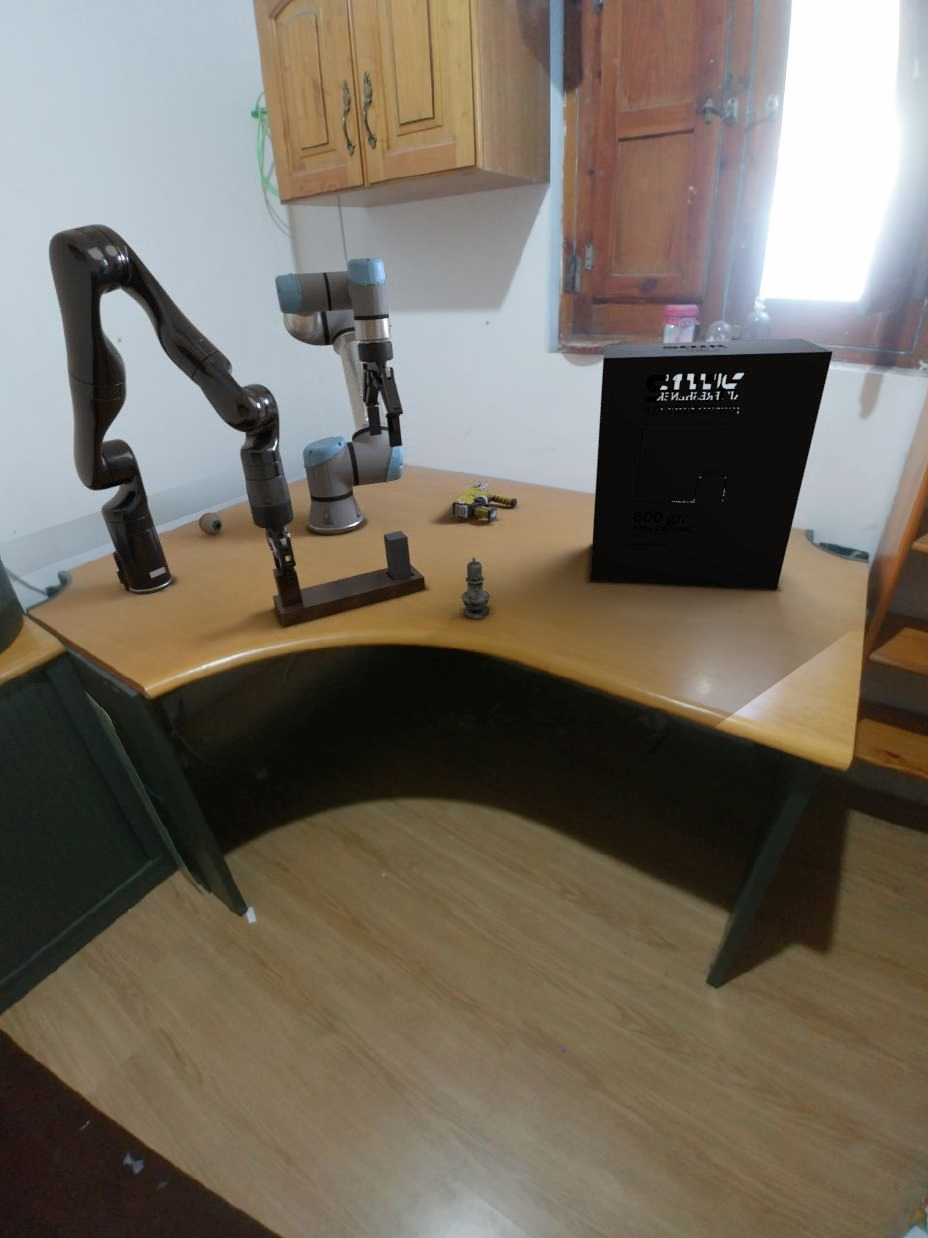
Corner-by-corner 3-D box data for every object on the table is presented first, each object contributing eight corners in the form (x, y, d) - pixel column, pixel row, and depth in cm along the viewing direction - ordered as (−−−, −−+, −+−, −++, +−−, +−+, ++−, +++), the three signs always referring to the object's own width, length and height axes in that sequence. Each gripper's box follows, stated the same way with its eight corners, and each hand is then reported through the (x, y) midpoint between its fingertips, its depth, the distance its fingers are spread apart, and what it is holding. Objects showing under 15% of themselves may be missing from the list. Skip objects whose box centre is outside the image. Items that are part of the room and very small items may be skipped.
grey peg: (396, 591, 132) (389, 540, 126) (389, 584, 135) (383, 534, 129) (412, 586, 134) (407, 536, 128) (406, 580, 137) (400, 530, 131)
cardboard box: (756, 549, 141) (800, 338, 118) (776, 589, 124) (832, 351, 101) (592, 544, 148) (604, 344, 126) (590, 580, 131) (603, 357, 109)
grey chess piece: (488, 619, 119) (486, 564, 113) (459, 618, 120) (455, 563, 114) (493, 605, 124) (491, 551, 118) (465, 604, 125) (462, 550, 119)
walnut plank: (284, 626, 121) (273, 582, 116) (275, 608, 128) (265, 565, 123) (425, 589, 132) (421, 547, 127) (410, 574, 140) (405, 533, 135)
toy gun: (525, 486, 181) (478, 479, 184) (503, 510, 160) (450, 501, 164) (523, 501, 183) (477, 494, 187) (501, 526, 163) (450, 518, 167)
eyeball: (212, 539, 164) (206, 518, 161) (197, 535, 167) (191, 515, 164) (230, 531, 169) (224, 511, 166) (215, 528, 172) (210, 508, 169)
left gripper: (298, 505, 109) (313, 584, 118) (281, 484, 120) (296, 558, 129) (256, 513, 107) (274, 594, 115) (242, 491, 118) (260, 566, 126)
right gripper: (412, 343, 122) (421, 448, 133) (372, 335, 142) (382, 428, 152) (376, 346, 119) (389, 454, 130) (341, 338, 139) (354, 432, 149)
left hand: (286, 575), depth 122 cm, fingers open, 8 cm apart
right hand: (385, 440), depth 141 cm, fingers open, 13 cm apart
